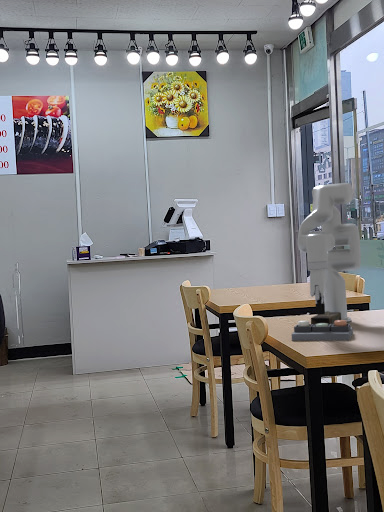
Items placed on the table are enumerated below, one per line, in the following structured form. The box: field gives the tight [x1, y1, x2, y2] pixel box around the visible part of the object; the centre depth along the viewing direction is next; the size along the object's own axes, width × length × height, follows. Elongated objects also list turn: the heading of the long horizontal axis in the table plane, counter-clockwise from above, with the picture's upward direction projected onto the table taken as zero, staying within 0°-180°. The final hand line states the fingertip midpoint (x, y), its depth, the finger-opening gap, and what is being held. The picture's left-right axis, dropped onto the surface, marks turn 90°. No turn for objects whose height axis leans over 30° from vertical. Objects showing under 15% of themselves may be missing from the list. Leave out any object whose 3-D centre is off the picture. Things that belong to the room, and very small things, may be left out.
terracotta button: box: [335, 320, 348, 326], centre depth 239 cm, size 4×4×2 cm
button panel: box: [291, 323, 354, 342], centre depth 241 cm, size 14×21×4 cm, turn 70°
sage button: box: [316, 323, 328, 327], centre depth 241 cm, size 4×4×2 cm
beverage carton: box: [310, 311, 341, 325], centre depth 259 cm, size 8×19×7 cm, turn 152°
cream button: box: [297, 320, 311, 327], centre depth 244 cm, size 4×4×2 cm
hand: (320, 314), depth 241 cm, fingers closed
